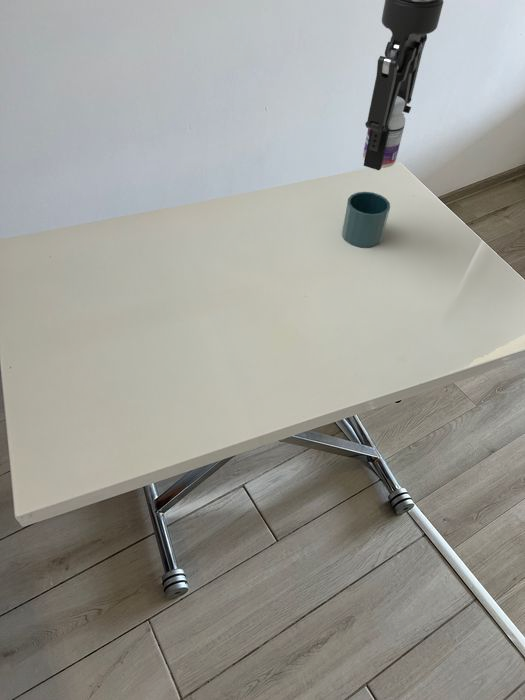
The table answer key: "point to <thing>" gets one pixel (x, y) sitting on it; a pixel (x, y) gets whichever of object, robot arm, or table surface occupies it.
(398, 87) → the robot arm
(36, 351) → the table surface
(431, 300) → the table surface
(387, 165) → the pill bottle
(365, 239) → the cup
